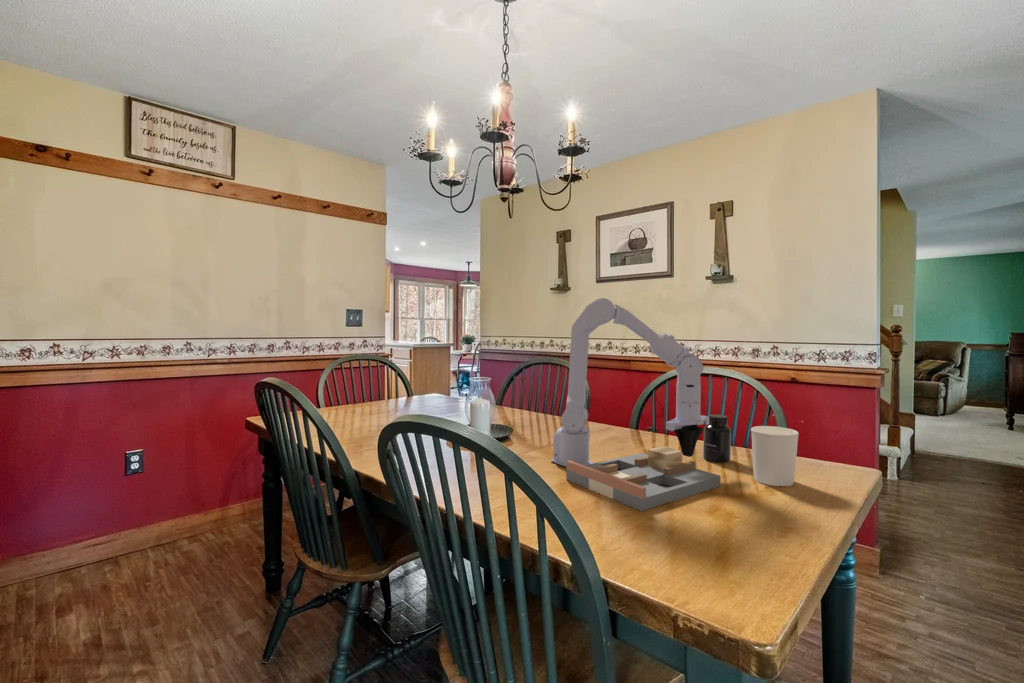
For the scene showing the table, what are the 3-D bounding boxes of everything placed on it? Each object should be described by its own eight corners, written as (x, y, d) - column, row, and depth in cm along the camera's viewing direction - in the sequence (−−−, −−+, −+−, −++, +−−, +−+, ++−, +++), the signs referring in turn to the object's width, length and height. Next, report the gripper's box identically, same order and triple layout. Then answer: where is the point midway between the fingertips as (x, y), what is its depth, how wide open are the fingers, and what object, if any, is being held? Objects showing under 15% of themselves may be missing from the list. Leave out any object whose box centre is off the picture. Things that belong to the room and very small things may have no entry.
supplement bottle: (704, 462, 129) (705, 417, 128) (702, 455, 135) (702, 412, 135) (732, 464, 127) (733, 418, 126) (728, 457, 133) (729, 414, 133)
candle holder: (806, 488, 108) (808, 435, 108) (762, 487, 108) (763, 435, 108) (783, 474, 118) (784, 425, 118) (742, 474, 118) (743, 425, 118)
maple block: (647, 465, 117) (648, 449, 117) (662, 462, 120) (663, 446, 120) (666, 471, 112) (666, 454, 112) (681, 467, 115) (681, 451, 115)
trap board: (566, 479, 114) (566, 460, 114) (641, 462, 129) (641, 445, 128) (641, 511, 95) (641, 488, 95) (720, 486, 109) (720, 466, 109)
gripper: (683, 406, 113) (682, 464, 113) (720, 401, 121) (719, 454, 121) (659, 402, 119) (658, 457, 119) (695, 397, 127) (695, 448, 127)
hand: (687, 455), depth 121 cm, fingers closed
